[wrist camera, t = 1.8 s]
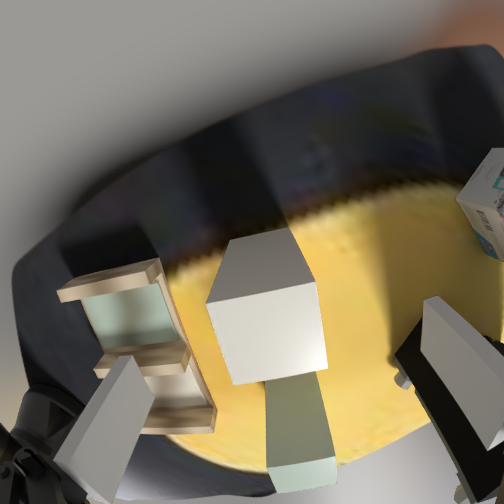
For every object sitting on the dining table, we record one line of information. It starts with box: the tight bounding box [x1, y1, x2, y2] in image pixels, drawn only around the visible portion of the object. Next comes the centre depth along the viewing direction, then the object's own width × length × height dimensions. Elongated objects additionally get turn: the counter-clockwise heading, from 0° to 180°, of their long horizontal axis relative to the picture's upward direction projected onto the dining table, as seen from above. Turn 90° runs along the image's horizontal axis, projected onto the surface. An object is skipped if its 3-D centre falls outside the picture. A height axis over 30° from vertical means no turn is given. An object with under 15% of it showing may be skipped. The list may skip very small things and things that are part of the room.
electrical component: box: [393, 317, 504, 504], centre depth 18 cm, size 18×10×20 cm, turn 62°
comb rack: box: [57, 258, 218, 434], centre depth 26 cm, size 10×19×4 cm, turn 13°
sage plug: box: [265, 371, 337, 493], centre depth 23 cm, size 5×5×12 cm
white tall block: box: [206, 227, 328, 385], centre depth 19 cm, size 5×5×12 cm
